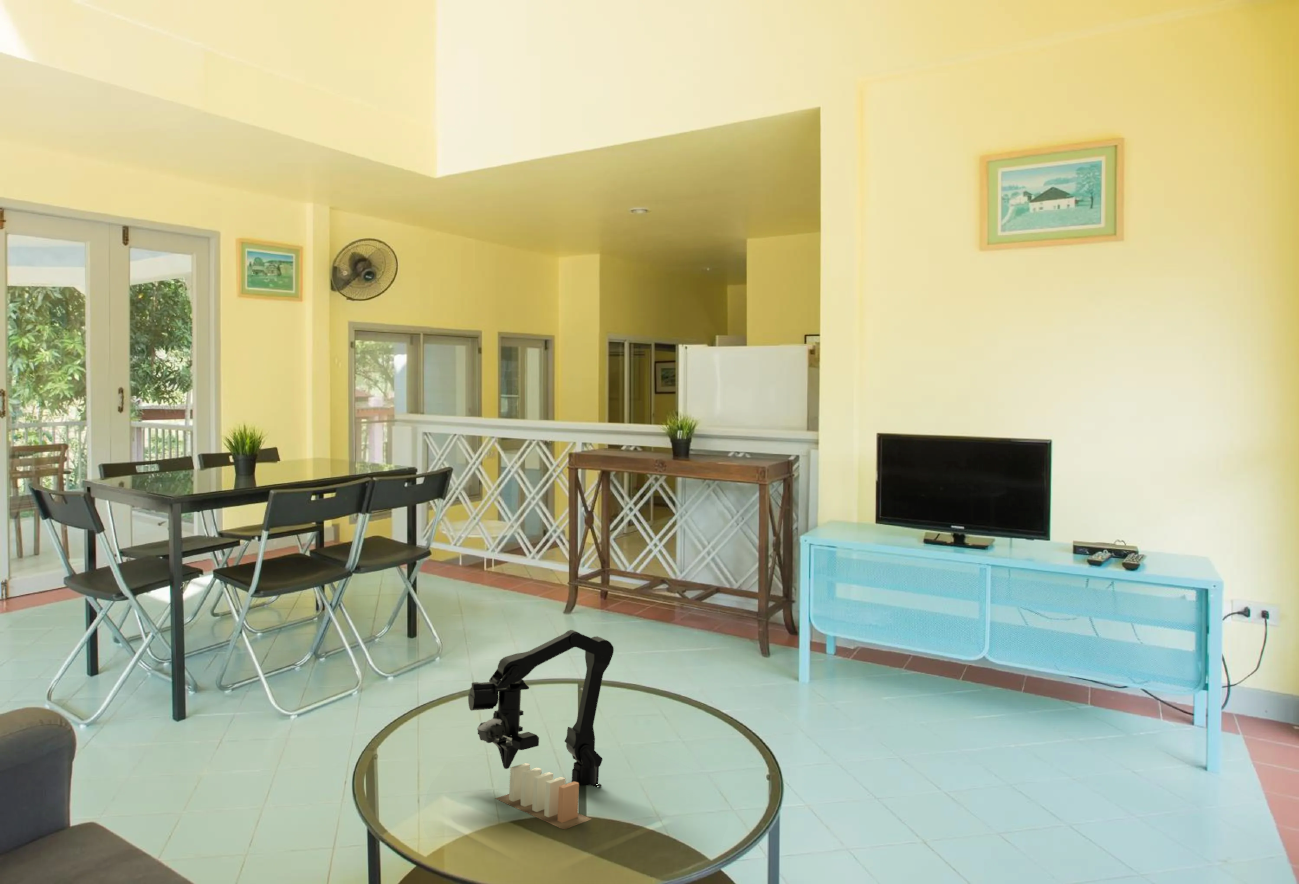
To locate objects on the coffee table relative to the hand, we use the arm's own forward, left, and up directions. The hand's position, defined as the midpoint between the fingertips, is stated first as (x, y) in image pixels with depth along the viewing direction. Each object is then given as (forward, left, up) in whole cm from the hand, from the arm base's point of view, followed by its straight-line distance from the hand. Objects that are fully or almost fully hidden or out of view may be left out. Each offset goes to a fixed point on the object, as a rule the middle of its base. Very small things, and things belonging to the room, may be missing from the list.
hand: (506, 768), depth 209 cm
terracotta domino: (-4, +23, -6) cm, 24 cm away
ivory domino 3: (-2, +14, -6) cm, 16 cm away
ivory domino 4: (-3, +19, -6) cm, 20 cm away
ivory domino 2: (-2, +10, -6) cm, 12 cm away
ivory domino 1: (-1, +6, -6) cm, 8 cm away
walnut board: (-2, +14, -7) cm, 16 cm away
